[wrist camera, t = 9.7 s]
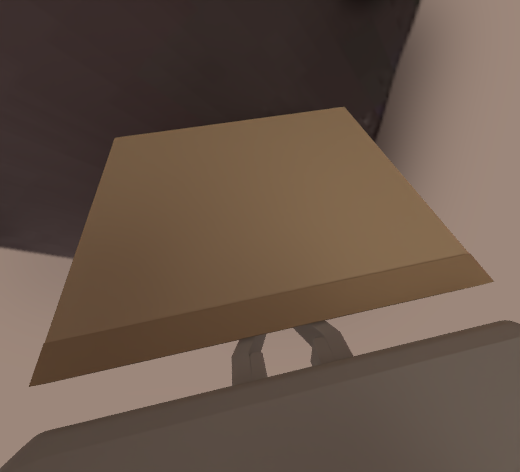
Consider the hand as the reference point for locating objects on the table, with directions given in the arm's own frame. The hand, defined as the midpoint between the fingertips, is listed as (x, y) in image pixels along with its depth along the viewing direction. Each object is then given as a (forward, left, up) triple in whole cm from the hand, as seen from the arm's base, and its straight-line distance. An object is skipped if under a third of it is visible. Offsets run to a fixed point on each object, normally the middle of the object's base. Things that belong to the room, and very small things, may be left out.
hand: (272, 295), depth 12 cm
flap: (0, +5, -5) cm, 7 cm away
